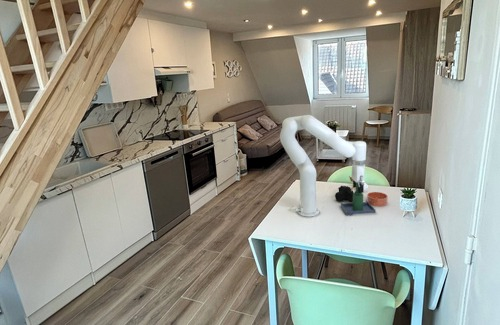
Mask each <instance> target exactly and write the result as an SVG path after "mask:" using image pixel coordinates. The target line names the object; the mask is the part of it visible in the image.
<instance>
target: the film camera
mask: <svg viewBox="0 0 500 325" xmlns="http://www.w3.org/2000/svg"><path fill="white" fill-rule="evenodd" d="M350 188H351V187H350V186H349V185H340V186H339V187H338V188H337V190H338V191H337V192H335V193H334V198H335V200H336V201H337V202H342V201H343V202H344V201H345V202H346V201H347V202H348V203H353V193H355V191H354V190H352V189H350Z"/></svg>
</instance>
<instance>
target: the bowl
mask: <svg viewBox="0 0 500 325" xmlns="http://www.w3.org/2000/svg"><path fill="white" fill-rule="evenodd" d="M388 197H389V196H388V194H386V193H384V192H381V191H372V192H367V193H366V202H369V203H370V204H371V206H372V207H385V206H387V205H388V199H389V198H388Z"/></svg>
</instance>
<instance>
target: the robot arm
mask: <svg viewBox="0 0 500 325" xmlns="http://www.w3.org/2000/svg"><path fill="white" fill-rule="evenodd" d="M281 123H282V124H281V127H282V128H281V130H280V134H279V141H280V143H281V145H282V147H283V148H284V151H285V153H286V154H287V155H288V157H289V159H290V161H291V162H292V163H293V164H294V165H295V167H296V168H297V171H298V174H299V194H300V196H299V198H300V199H299V200H300V202H299V203H300V204H299V205H297V206H292V210H293V211H295V212H297V213H298V215H300V216H302V217H306V218H309V217H316V216H318V215H319V213H320V210H319V208H317V169H316V166H315V165H314V163H313V162H312V161H311V158H309V155H308V154H307V152H306V151H305V149H304V148H303V147H302V146H301V145H300V143H299V142H298V140H297V138H296V133H297V132H298V131H301V130H302V131H303V130H304V131H306V132H307V133H310V135H312V136H314V137H315V138H317V139H318V140H319V141H321V142H323V143H324V144H325V145H327V146H329V147H330V148H332V149H333V150H334V151H336V152H337V153H339V155H342V156H343V157H345V158H351V160H352V161H351V165H352V166H351V177H352V179H353V182H352V188H353V189H356V183H357V182H358V193H363V194H364V193H365V192H364V183H365V179H366V176H365V174H366V169H365V166H366V162H367V161H366V160H367V143H366V141H363V140H357V141H356V140H355V141H347V140H345V139H344V138H343V137H341V136H340V135H338V134H337V132H335V130H333V129H332V128H330V127H329V126H327V125H326V124H325V123H323V122H322V121H320V120H319V119H317V118H316V117H315V116H313V115H311V114H304V115H298V116H289V117H287V118H285V119H284V120H283V121H282V122H281ZM360 183H361V184H360Z"/></svg>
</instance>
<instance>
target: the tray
mask: <svg viewBox="0 0 500 325" xmlns="http://www.w3.org/2000/svg"><path fill="white" fill-rule="evenodd" d="M340 208H341V210H342V211H343V213H344V214H345V216H353V215H363V214H375V213H376V208H374V206H372V205H371V204H370V203H369V202H367V201H363V210H361V211H354V210H353V202H344V203H343V202H342V203H340Z"/></svg>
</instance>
